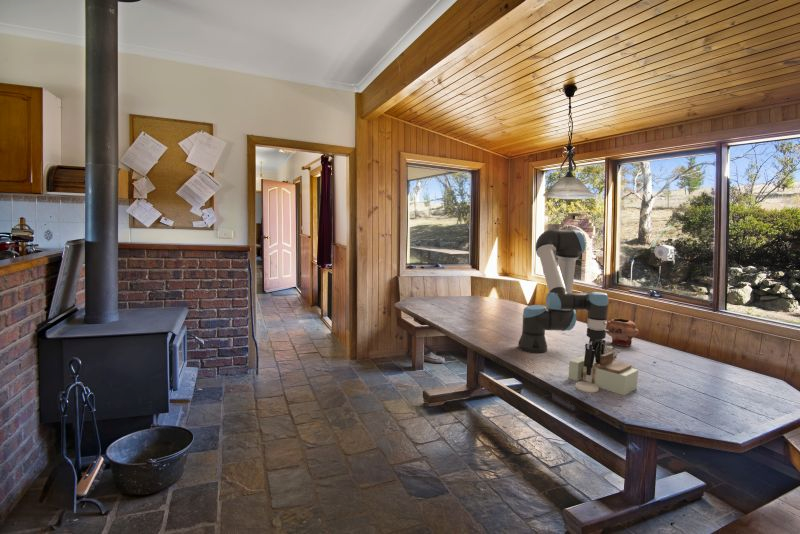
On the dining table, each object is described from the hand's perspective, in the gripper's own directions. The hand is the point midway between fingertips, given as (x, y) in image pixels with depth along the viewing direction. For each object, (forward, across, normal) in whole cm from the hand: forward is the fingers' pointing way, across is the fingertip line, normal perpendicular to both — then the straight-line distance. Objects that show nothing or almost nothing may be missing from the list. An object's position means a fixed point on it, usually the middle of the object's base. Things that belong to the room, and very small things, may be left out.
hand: (592, 379), depth 196 cm
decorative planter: (0, +69, +19) cm, 72 cm away
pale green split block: (0, 0, -4) cm, 4 cm away
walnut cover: (-8, 0, -9) cm, 12 cm away
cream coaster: (0, -11, -3) cm, 11 cm away
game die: (0, +33, +8) cm, 34 cm away
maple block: (0, 0, 0) cm, 0 cm away
